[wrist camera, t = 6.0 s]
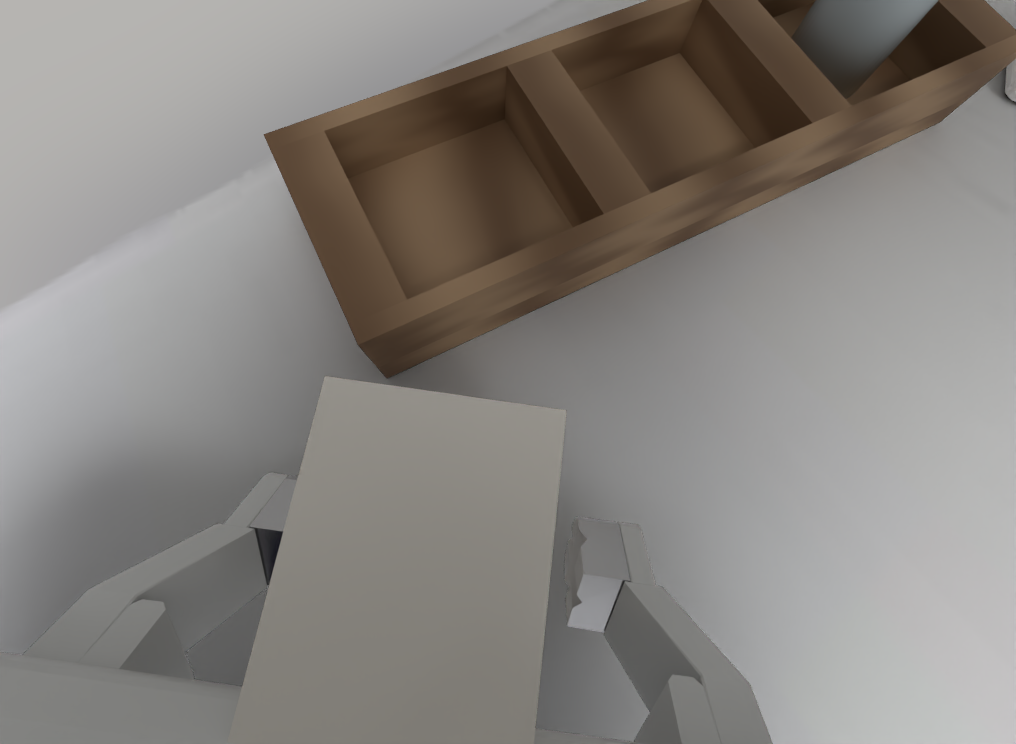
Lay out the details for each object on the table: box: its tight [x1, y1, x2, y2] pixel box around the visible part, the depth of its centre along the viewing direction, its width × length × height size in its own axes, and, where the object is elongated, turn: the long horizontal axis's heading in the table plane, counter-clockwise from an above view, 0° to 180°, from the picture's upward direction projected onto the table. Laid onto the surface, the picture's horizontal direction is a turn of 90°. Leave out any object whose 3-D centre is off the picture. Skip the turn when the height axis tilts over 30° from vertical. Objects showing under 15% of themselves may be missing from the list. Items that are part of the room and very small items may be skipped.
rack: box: [264, 0, 1016, 378], centre depth 19 cm, size 30×9×4 cm, turn 117°
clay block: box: [227, 376, 567, 744], centre depth 11 cm, size 4×5×11 cm
